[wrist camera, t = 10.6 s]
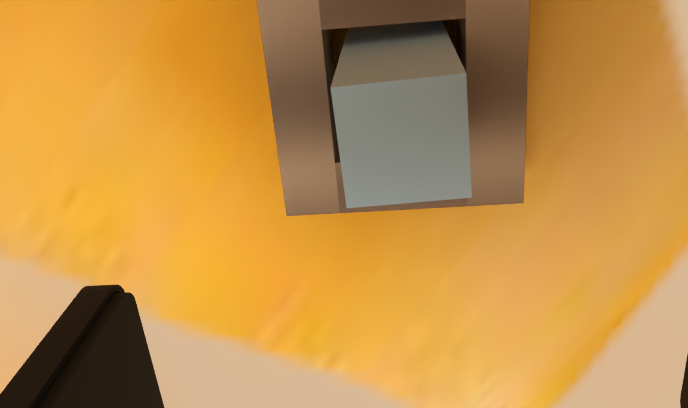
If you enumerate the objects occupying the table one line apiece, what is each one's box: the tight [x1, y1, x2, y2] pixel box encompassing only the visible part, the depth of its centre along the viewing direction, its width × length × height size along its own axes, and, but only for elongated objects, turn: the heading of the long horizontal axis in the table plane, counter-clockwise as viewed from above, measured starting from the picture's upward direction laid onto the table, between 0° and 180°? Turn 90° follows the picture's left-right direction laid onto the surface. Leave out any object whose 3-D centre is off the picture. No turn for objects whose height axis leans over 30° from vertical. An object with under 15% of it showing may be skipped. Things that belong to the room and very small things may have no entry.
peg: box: [331, 20, 472, 208], centre depth 24 cm, size 4×4×10 cm
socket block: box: [257, 0, 530, 216], centre depth 27 cm, size 10×10×4 cm
